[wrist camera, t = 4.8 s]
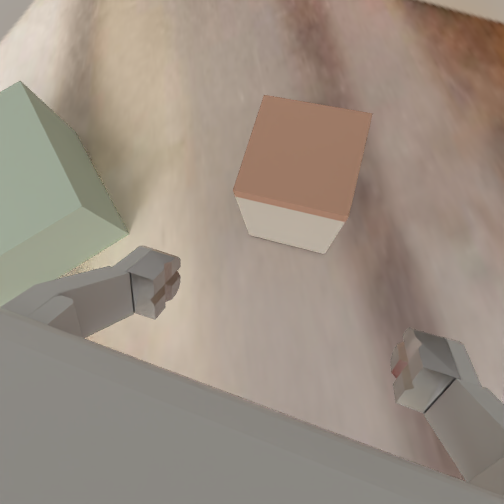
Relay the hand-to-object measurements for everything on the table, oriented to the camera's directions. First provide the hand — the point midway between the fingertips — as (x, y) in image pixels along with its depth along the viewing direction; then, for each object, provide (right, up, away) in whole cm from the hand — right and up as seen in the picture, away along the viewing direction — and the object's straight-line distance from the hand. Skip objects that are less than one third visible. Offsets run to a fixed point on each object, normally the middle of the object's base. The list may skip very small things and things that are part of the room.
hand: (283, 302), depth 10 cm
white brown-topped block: (+2, +5, +13) cm, 14 cm away
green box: (-20, +5, +15) cm, 25 cm away
